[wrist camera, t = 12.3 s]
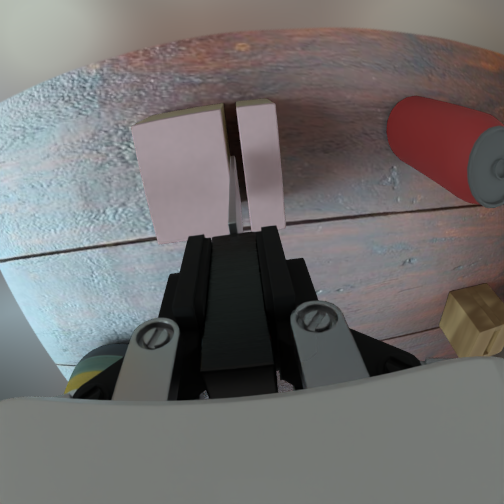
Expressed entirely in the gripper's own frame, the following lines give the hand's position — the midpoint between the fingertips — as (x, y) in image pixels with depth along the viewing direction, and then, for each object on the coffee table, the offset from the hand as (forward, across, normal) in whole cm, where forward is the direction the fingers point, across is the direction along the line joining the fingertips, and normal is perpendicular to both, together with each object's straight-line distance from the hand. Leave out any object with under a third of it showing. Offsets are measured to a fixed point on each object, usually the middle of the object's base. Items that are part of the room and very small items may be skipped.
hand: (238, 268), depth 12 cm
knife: (+11, 0, 0) cm, 11 cm away
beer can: (+17, -17, -1) cm, 24 cm away
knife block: (+17, -28, +22) cm, 40 cm away
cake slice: (+17, -2, 0) cm, 17 cm away
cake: (+17, +3, 0) cm, 18 cm away
